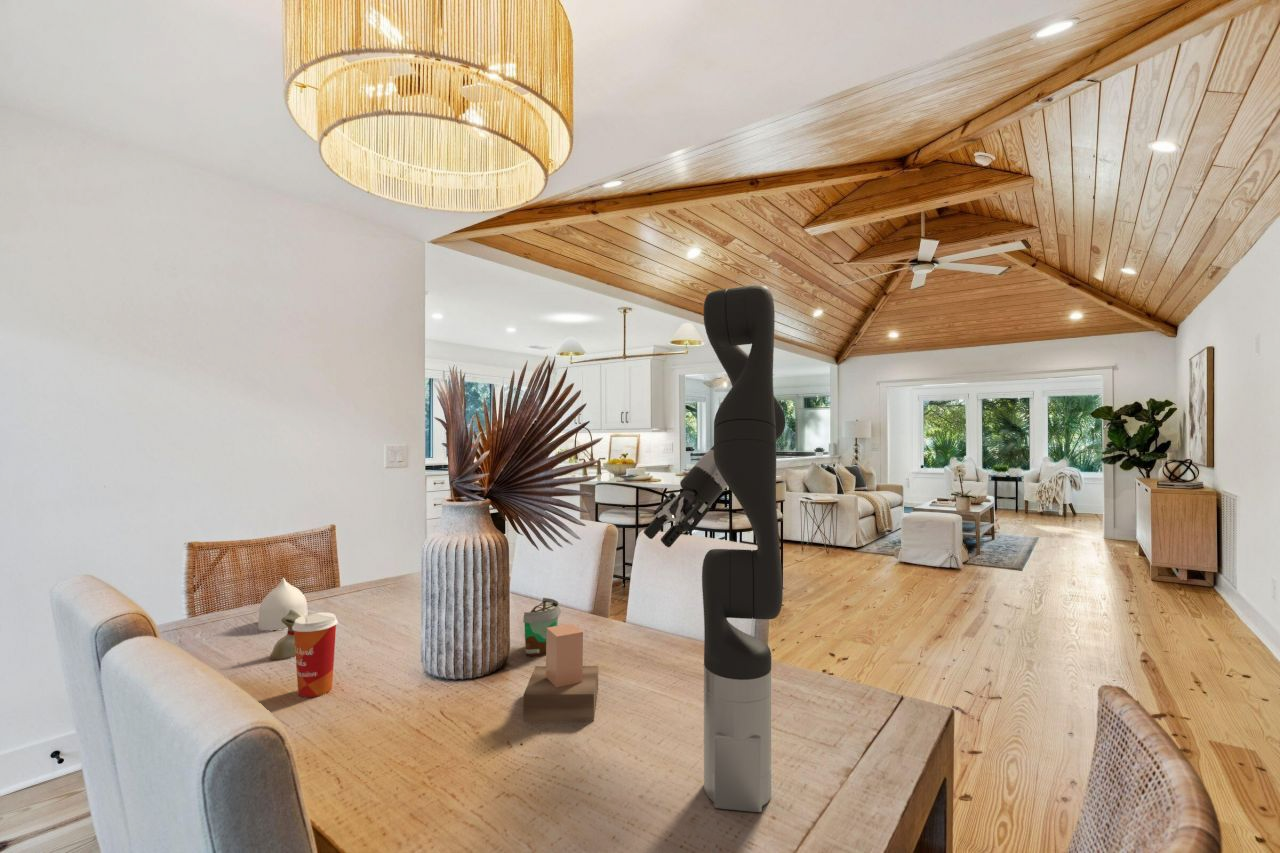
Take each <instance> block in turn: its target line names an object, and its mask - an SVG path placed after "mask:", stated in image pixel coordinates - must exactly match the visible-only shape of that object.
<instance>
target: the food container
mask: <svg viewBox="0 0 1280 853" xmlns="http://www.w3.org/2000/svg"><path fill="white" fill-rule="evenodd" d="M561 615H562V609H561V606H560V604H559V601H557V600H556V599H554V598H550V597H542V602H541V603H540V604H538V605H535V606H534V607H533V608H532V609H531V611H529V612H528V611H527V612H525V611H524V612H523V618H522V619H523V623H524V642H525V657H526V656H527V657H526V658H531V657H532V658H534V656H537V657H542V656H546V629H547V628H548V627H554V626H559V625H558V624H559V617H560V616H561ZM528 656H529V657H528Z"/></svg>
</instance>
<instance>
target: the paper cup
mask: <svg viewBox="0 0 1280 853" xmlns="http://www.w3.org/2000/svg"><path fill="white" fill-rule="evenodd" d="M338 623H339V621H338V619H337V617H336V614H334V613H332V612H315V614H313V613H311V614H308V615H306V616H305V617H304V616H301V617H299V618H297V619H296V620H295V622H294V625H293V627H292V630H294V638H295V653H296V657H295V664H296V665H295V666H296V667H295V668H296V678H297V679H296V680H297V681H296V682H297V692H298V696H299V697H300V696H301V698H303V697H306V698H305V699H311V698H310V697H313V698H317V697H316V696H318V697H321V696H320V695H322V696H324V695H326V694H325V693H327V692H328V693H330V692H331V691H332V688H333V678H334V666H335V665H334V664H335V663H334V662H335V649H336V648H335V647H336V630H337V624H338ZM330 690H331V691H330ZM329 691H330V692H329ZM328 693H327V694H328ZM323 694H324V695H323Z"/></svg>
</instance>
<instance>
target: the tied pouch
mask: <svg viewBox="0 0 1280 853" xmlns="http://www.w3.org/2000/svg"><path fill="white" fill-rule="evenodd" d="M299 617H301V616H300V615H299V614H298V613H297V612H295V611H294V610H290V611H289V613H288V614H287V615H286V616H285V617H283V618H282V620H281V621H282V623H284V624H285V625H286V626H287V627H288V629H287V633H286V634H285V636H283V637H282V638H280V639H278V640H277V641H276V643H275V645H274V646H273V649H272V650H271V653H270V655H269V660H270V661H275V659H276V660H277V661H279V660H280V659H282V660H286V659H287V658H288V659H292V658H291V657H293V658H296V657H295V656H296V653H295V638H294V630H292V627H293V625H294V622H295V620H296V619H297V618H299ZM288 659H287V660H288Z"/></svg>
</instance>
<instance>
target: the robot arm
mask: <svg viewBox="0 0 1280 853" xmlns="http://www.w3.org/2000/svg"><path fill="white" fill-rule="evenodd" d="M772 294H773V293H772V291H771V290H770V288H768V286H765V285H758V284H756V285H747V286H746V285H745V286H739V287H732V288H723V289H718V290H714V291H710V292H709V293H708V294H707V295H706V297H705V298H704V303H703V324H704V329H705V333H706V336H707V338H708V341H709V343H710V346H711V348H712V349H713V351H714V353H715V355H716V357H717V359H718V361H719V362H720V364H721V366H722V367H723V369H724V371H725V373H726V375H727V377H728V379H729V381H730V383H731V388H730V390H729V391H728V393H727V394H726V395H725V397H724V399H723V400H722V401H721V403H720V405H719V407H718V408H717V412H716V414H715V417H714V419H713V446H712V447H711V448H710V449H709V451H706V453H705V454H703V456H702V457H700V459H699V460H698V461H697V462H696V463H695V464H694V466H693V467H692V468H691V469H690V470H689V471H688V473H687V474H685V476H684V477H683V478H682V479H681V480H680V481H679V483H680V484H679V485H680V487H681V490H682V491H681V492H680V493H678V494H677V495H676V494H675V492H670V493H669V494H668V496H666V498H665V499H664V500H663V501H662V502H661V503H660V504H659V505H658V507H656V509H654V511H653V515H654V519H652V521H651V522H650V523H649V525H647V527H645V529H644V530H643V534H644V535H645V536H646V537H647V538H648V539H650V540H653V539H654V538H655V537H656V536H657V534H658V533H659V532H660V531H661V529H663V528H664V526H665V525H667V524H668V523H670V522H674V523H673V524H674V525H673V524H672V525H671V526H670V528H668V529H667V531H666V532H665V533H664V534H663V536H661V538H660V542H661V543H662V544H663V545H664V546H665V547H667V548H671V546H672V545H673V544H674V543H675V542H676V541H677V540H678V539H679V537H680V536H681V535H682V534H686V532H688V533H692V532H693V531H694V530H695V528H696V527H698V525H699V523H700V522H701V521H702V520H703V519H704V517H705V516H706V515H707V513H709V511H710V507H711V506H712V505H713V503H715V501H716V500H717V499H718V498H719V497H720V495H721V494H722V493H723V492H724V491H725V490H726V488H727V487H728V488H729V490H730V491H731V492H732V495H734V497H735V498H736V499H737V502H738V503H739V505H740V506H741V508H742V509H743V511H744V513H745V515H746V518H747V519H748V522H749V523H750V526H751V528H752V531H753V535H754V538H755V542H756V547H757V549H740V548H738V549H736V548H712V549H709V550H708V551H707V552H706V554H705V555H704V558H703V562H702V570H701V589H702V590H701V591H702V605H703V622H704V624H703V625H704V627H703V628H704V633H703V634H704V636H703V637H704V639H703V640H704V641H703V642H704V645H703V646H704V647H703V649H704V650H703V790H704V792H705V794H706V796H707V797H708V799H710V800H711V802H713V808H715V809H721V810H732V811H741V812H743V811H744V812H751V813H761V812H762V811H763V807H764V806H765V805H766V804H767V803H769V801H770V800H771V796H772V652H771V649H770V647H769V645H767V643H766V642H765V641H763V640H762V639H760V638H757V637H756V636H754V635H752V634H748V633H746V632H743V630H740V629H738V628H737V627H736V626H734V625H733V624H732V623H730V622H729V620H728V619H727V618H729V619H744V620H745V619H747V620H752V619H754V620H774V619H776V618H778V617H779V614H780V613H781V610H782V606H783V593H784V592H783V570H782V559H781V558H782V557H781V550H780V548H781V547H780V538H779V537H780V535H779V523H778V511H777V510H778V509H777V440H778V439H779V438H781V436H782V435H783V433H784V430H785V428H786V423H787V422H786V421H787V420H786V415H785V412H784V410H783V407H782V406H781V405H780V403H779V401H778V400H777V398H776V396H775V395H774V392H775V391H774V354H775V352H774V351H775V350H774V349H775V320H776V316H775V312H776V311H775V304H774V303H775V302H774V298H773V295H772ZM744 345H745V346H747V345H751V347H750V351H749V353H748V352H747V351H745V350H744V349H743V348H741V346H744Z"/></svg>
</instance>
